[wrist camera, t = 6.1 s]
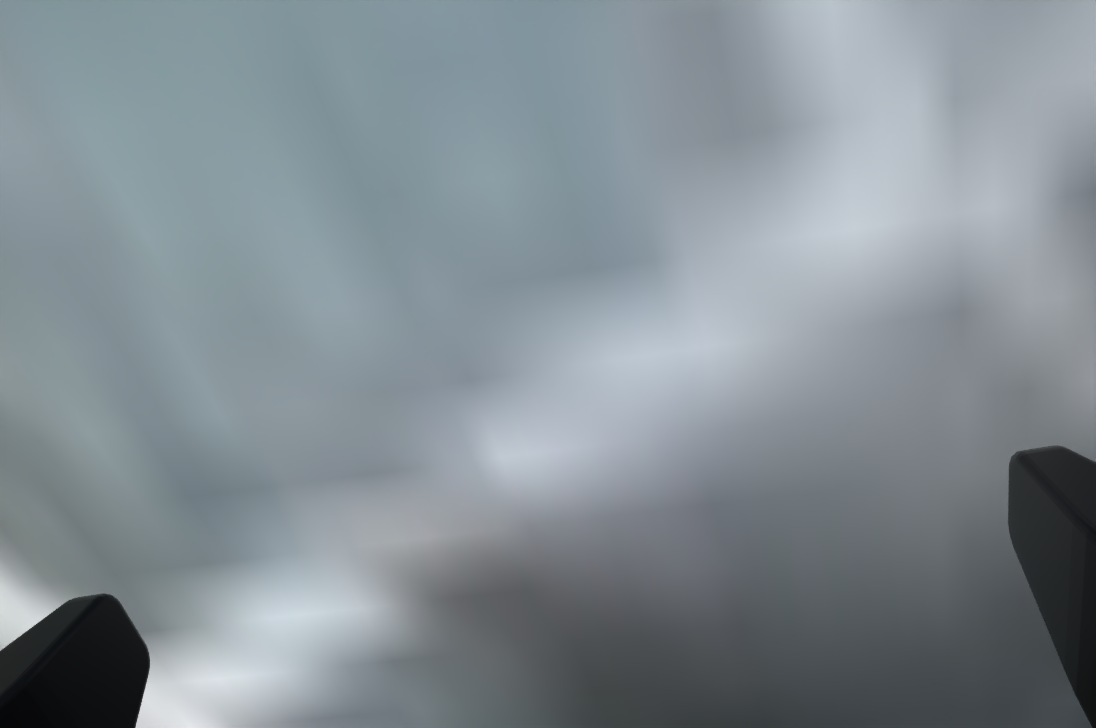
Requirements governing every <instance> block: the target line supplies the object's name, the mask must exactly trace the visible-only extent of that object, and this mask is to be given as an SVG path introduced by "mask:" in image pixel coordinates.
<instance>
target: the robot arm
mask: <svg viewBox="0 0 1096 728" xmlns="http://www.w3.org/2000/svg"><path fill="white" fill-rule="evenodd" d="M1008 525H1009V532H1010V537H1011V540H1012V544H1013V547H1014V549H1015V552H1016V554H1017V557H1018V559H1019V562H1020V564H1021V566H1022V569H1023V571H1024V574H1025V576H1026V578H1027V581H1028V583H1029V586H1030V588H1031V590H1032V593H1033V595H1034V598H1035V600H1036V603H1037V605H1038V607H1039V610H1040V612H1041V615H1042V617H1043V619H1044V622H1045V624H1046V627H1047V629H1048V631H1049V634H1050V636H1051V639H1052V641H1053V644H1054V646H1055V648H1056V651H1057V653H1058V656H1059V658H1060V660H1061V663H1062V665H1063V668H1064V670H1065V672H1066V675H1067V677H1068V679H1069V681H1070V684H1071V686H1072V688H1073V691H1074V693H1075V695H1076V697H1077V699H1078V701H1079V703H1080V705H1081V707H1082V709H1083V711H1084V712H1085V714H1086V716H1087V718H1088V720H1089V722H1090V724H1091V726H1092V727H1093V728H1096V462H1094V461H1092V460H1090V459H1088V458H1086V457H1084V456H1082V455H1080V454H1078V453H1076V452H1074V451H1072V450H1070V449H1068V448H1065V447H1062V446H1048V447H1042V448H1035V449H1029V450H1023V451H1018V452H1016V453H1015V454H1014V455H1013V456H1012V457H1011V460H1010V464H1009V501H1008ZM149 669H150V657H149V652H148V648H147V646H146V644H145V642H144V640H143V639H142V637H141V636H140V634H139V632H138V631H137V629H136V628H135V626H134V624H133V623H132V621H131V619H130V618H129V616H128V615H127V613H126V611H125V610H124V608H123V606H122V605H121V603H120V602H119V601H118V599H116V598H115V597H113V596H112V595H110V594H97V595H91V596H84V597H78V598H74V599H71V600H69V601H67V602H66V603H64V604H63V605H62V606H60V607H59V608H58V609H56V610H55V611H53V612H52V613H51V614H49V615H48V616H47V617H45V618H44V619H43V620H41V621H40V622H39V623H37V624H36V625H35V626H33V627H32V628H31V629H29V630H28V631H27V632H25V633H24V634H22V635H21V636H20V637H18V638H17V639H16V640H14V641H13V642H12V643H10V644H9V645H8V646H6V647H5V648H4V649H2V650H1V651H0V728H135V727H136V722H137V718H138V714H139V710H140V706H141V702H142V698H143V694H144V690H145V686H146V682H147V678H148V674H149Z"/></svg>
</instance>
